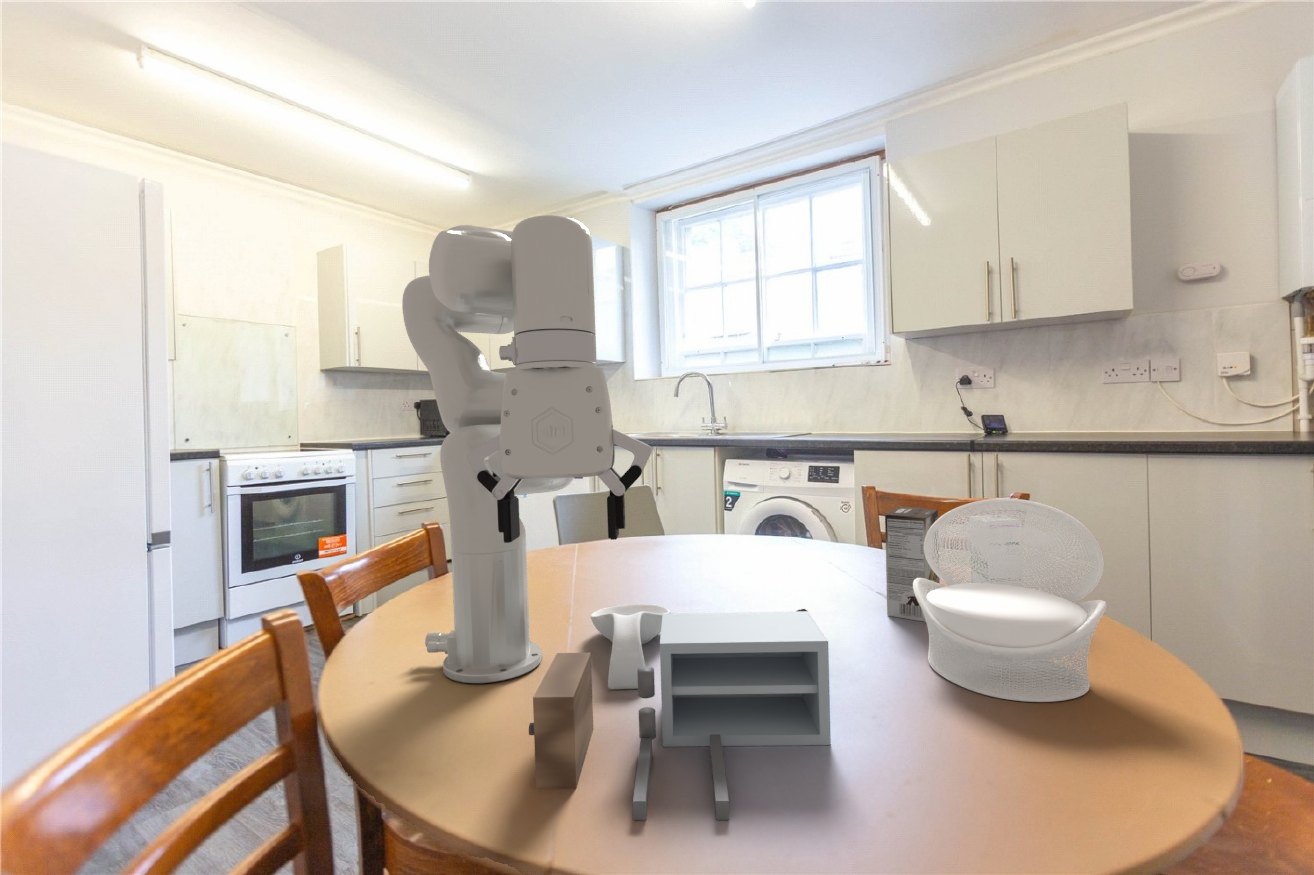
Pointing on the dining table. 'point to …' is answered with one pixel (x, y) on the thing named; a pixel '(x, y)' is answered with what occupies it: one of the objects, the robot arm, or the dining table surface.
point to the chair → (1011, 602)
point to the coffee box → (907, 559)
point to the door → (563, 721)
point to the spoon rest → (628, 638)
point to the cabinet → (734, 689)
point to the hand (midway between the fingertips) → (562, 538)
